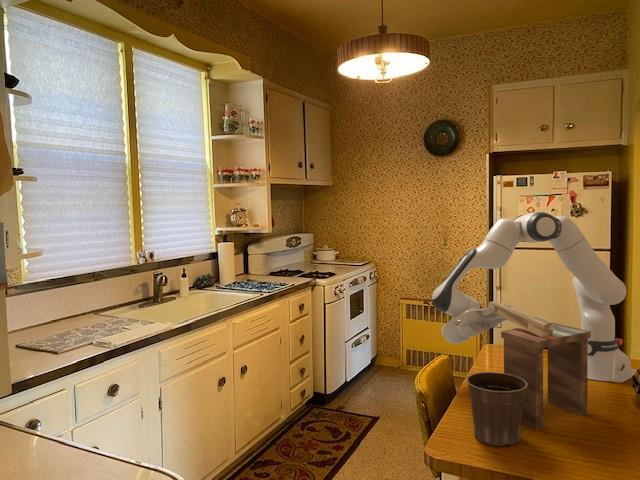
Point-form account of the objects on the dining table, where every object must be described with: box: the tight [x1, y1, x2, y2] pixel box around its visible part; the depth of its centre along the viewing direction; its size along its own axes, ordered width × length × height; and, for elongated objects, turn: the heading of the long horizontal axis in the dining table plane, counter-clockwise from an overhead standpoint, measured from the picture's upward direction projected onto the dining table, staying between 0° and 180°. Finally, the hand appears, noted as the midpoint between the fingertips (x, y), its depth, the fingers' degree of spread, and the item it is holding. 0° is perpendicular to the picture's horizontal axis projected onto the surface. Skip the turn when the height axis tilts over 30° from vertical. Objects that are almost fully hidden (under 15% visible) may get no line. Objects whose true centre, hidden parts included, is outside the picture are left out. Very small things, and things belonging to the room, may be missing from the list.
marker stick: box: [487, 300, 555, 337], centre depth 152 cm, size 5×21×4 cm, turn 31°
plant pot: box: [465, 371, 528, 447], centre depth 137 cm, size 16×16×16 cm
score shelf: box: [500, 323, 591, 430], centre depth 151 cm, size 22×14×26 cm, turn 115°
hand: (500, 307), depth 158 cm, fingers closed on marker stick, 3 cm apart
